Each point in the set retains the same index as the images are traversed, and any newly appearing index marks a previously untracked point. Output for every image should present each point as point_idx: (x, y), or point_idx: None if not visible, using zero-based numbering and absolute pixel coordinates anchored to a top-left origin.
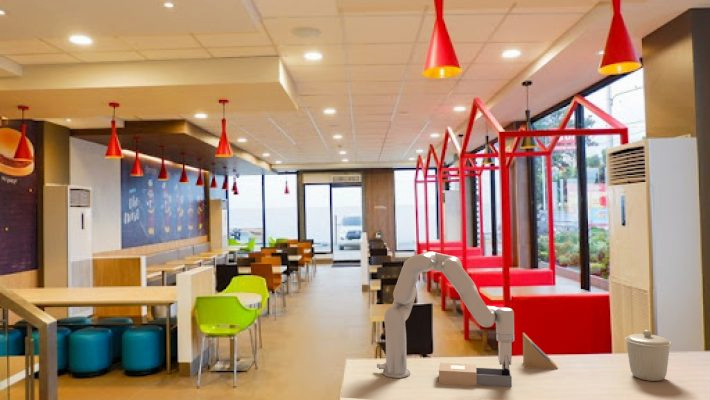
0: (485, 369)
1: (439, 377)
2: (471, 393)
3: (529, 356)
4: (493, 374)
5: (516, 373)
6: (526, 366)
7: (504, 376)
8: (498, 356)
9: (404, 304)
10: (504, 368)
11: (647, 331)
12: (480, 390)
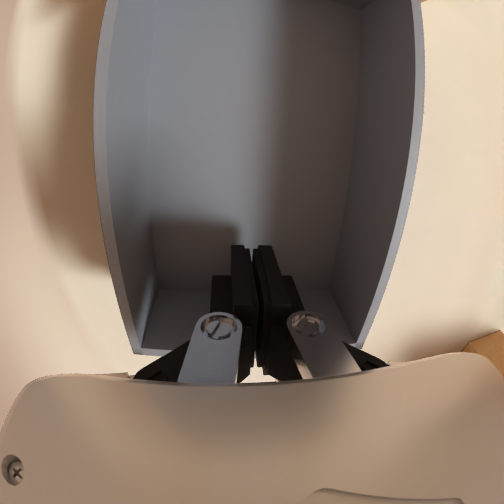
0: (406, 81)
1: None
2: (17, 19)
3: None
4: (366, 168)
5: (429, 319)
6: (467, 349)
7: (118, 292)
8: (475, 399)
9: None
10: (154, 364)
11: None
12: (57, 50)
